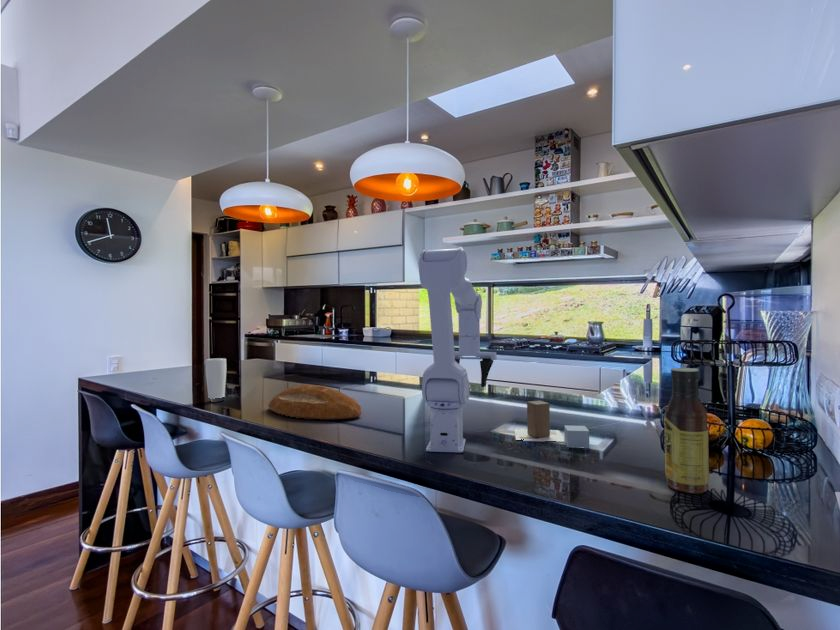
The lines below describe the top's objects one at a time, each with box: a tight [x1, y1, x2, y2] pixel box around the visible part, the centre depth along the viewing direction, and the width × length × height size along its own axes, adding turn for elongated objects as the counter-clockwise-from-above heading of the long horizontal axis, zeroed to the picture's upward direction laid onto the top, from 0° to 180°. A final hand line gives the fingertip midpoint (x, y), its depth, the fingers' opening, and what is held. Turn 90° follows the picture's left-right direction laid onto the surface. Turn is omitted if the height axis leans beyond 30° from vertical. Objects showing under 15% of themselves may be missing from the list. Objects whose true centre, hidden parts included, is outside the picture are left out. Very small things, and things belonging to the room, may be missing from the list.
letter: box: [513, 428, 565, 443], centre depth 108 cm, size 10×11×1 cm
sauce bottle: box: [663, 367, 710, 495], centre depth 74 cm, size 7×6×20 cm
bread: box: [268, 384, 362, 421], centre depth 137 cm, size 18×35×9 cm, turn 58°
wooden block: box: [526, 400, 551, 438], centre depth 108 cm, size 4×4×8 cm
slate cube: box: [563, 424, 590, 449], centre depth 99 cm, size 4×4×4 cm
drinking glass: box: [204, 357, 227, 399], centre depth 158 cm, size 7×7×15 cm
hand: (469, 385), depth 123 cm, fingers open, 7 cm apart
